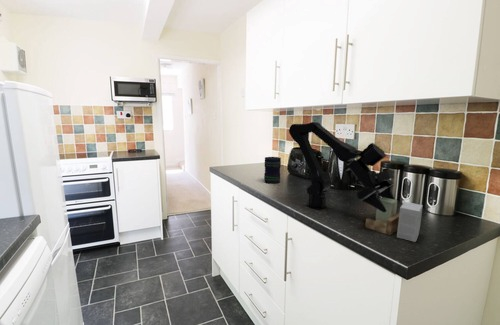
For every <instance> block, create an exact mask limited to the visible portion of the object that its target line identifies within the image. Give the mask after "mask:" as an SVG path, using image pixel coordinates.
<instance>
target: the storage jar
mask: <svg viewBox="0 0 500 325" xmlns="http://www.w3.org/2000/svg"><path fill="white" fill-rule="evenodd" d="M281 159H282V158H281V157H278V156H267V157H264V174H263V177H264V179H263V180H264V184H268V185H278V184H280V183H281V165H282V162H281Z"/></svg>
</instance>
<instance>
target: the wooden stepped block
mask: <svg viewBox="0 0 500 325" xmlns="http://www.w3.org/2000/svg"><path fill="white" fill-rule="evenodd" d="M398 222H399V212H398V213H396V215H394V216H393V217H391V218H389V219H388V220H387V222H384V221H381V220H377V221H376V219H375V220H374V219H373V218H372V219H371V218H368V217H367V218H366V219H365V228H366V229H370V230H372V231H376V232H379V233H382V234H385V235H389V236H391V235H393V234H394V233H395V232H397V231H398Z"/></svg>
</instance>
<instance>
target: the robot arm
mask: <svg viewBox="0 0 500 325" xmlns="http://www.w3.org/2000/svg"><path fill="white" fill-rule="evenodd" d="M288 133H289V135H290V137H291V138H292V140H293V141H294V142H295V143H296V144H297V145H298V147H299V149H300V152H301V154H302V156H303V158H304V161H305V163H306V165H307V167H308V170H309V171H310V184H311V185H309V187H307V188H306V192H307V194H308V204H306V207H310V208H312V209H316V210H321V209H324V208H327V205H326V204H327V198H326V197H327V196H326V193H328V191H329V189H330V188H331V187H332V184H333V183H332V180H333V179H332V178H331V176H330V173H329V171H325V170H323V168H322V167H321V165H320V162H319V161H318V158H317V157H316V154H315V151H314V149H313V147H312V144H311V142H310V140H309V139H310V136H309V135H310V133H313V135H315V136H316V137H317V138H318V139H320V140H321V141H322V142H323V143H325V144H326V145H327V146H328V147H329V148H331V149H332V151H333V154H334V155H335V156H336V157H337V159H338V160H339V161H341V162H342V163H344V162H345V164H344V170H343V171H344V172H347V171H351V172H352V173H353V175H354V177H355V178H356V179H357V180H356V183H357V184H361V186H362V187H363V188H361V189H360V190H358V191H356V196H355V197H356V198H357V199H358V200H359V201H362V202H364V203H366V204H368V205H370V206H371V207H374V208H375V209H376V210H377V209H379V210H380V211H382V212H386V209H385V207H384V205H383V204H382V202H381V200H380V198H382V197H385V198H389V199H394V200H396V199H395V196H394V195H393V188H394V181H392V180H391V179H394V178H395V176H394V173H395V171H393V169H392V168H390V167H385V168H382V171H380V172H377V171H375V170H372V169H370V168H369V167H370V166H371V167H374V166H375V165H376V164H378V163H379V162H380V161H382V160H383V159H385V158H386V157H387V155H386V153H385V151H384V150H383V149H382V148H380V147H379V146H378V145H376V144H375V143H374V142H370V143H369V144H368V145H367V147H366V148H365V149H363V150H359V149H357V148H355V146H353V145H351V144H350V143H347V142H344V141H342V140H340V139H339V138H337V137H336V136H335V135H334V134H333V133H332V132H330V131H329V130H328V129H326V128H325V126H323V125H321V123H320V122H317V121H315V122H314V121H313V122H312V121H311V122H309V123H293V124H291V125H290V126H289V129H288ZM346 162H349V163H346Z"/></svg>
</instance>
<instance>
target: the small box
mask: <svg viewBox="0 0 500 325" xmlns="http://www.w3.org/2000/svg"><path fill="white" fill-rule="evenodd" d="M398 213H399V222H398V230H397V231H396V232H397V233H396V238H398V239H402V240H404V241H405V240H406V241H410V242H412V243H416V242H417V239H418V237H419V234H420V229H421V223H422V215H423V204H418V203H414V202H413V203H412V202H409V201H408V202H407V201H403V202H402V205H401V206H400V207H399V212H398Z"/></svg>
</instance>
